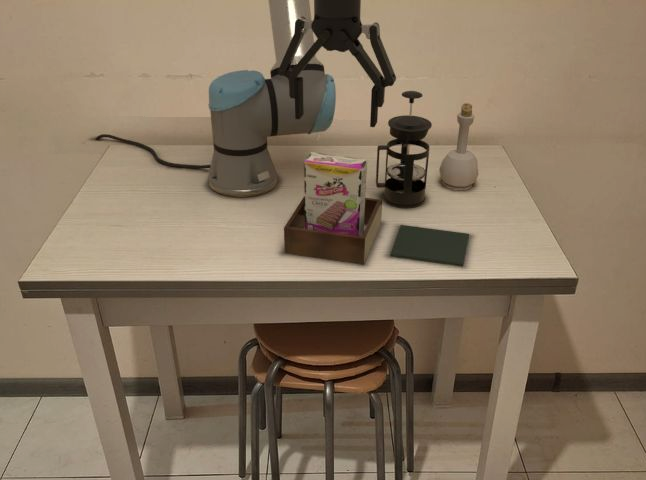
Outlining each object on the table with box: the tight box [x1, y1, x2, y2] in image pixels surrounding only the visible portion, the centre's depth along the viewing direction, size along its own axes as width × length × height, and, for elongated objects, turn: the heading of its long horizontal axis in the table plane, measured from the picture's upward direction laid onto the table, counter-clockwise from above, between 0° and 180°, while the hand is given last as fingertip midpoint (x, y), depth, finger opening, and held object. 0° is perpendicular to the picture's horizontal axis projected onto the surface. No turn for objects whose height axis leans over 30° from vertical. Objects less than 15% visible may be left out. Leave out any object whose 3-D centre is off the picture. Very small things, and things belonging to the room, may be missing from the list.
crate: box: [283, 195, 383, 265], centre depth 137 cm, size 16×17×6 cm
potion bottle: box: [439, 102, 479, 191], centre depth 154 cm, size 9×9×18 cm
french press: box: [375, 90, 433, 209], centre depth 146 cm, size 12×9×23 cm
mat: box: [389, 224, 470, 267], centre depth 137 cm, size 14×12×1 cm
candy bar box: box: [303, 151, 368, 236], centre depth 133 cm, size 11×5×16 cm, turn 77°
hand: (336, 120), depth 124 cm, fingers open, 13 cm apart
